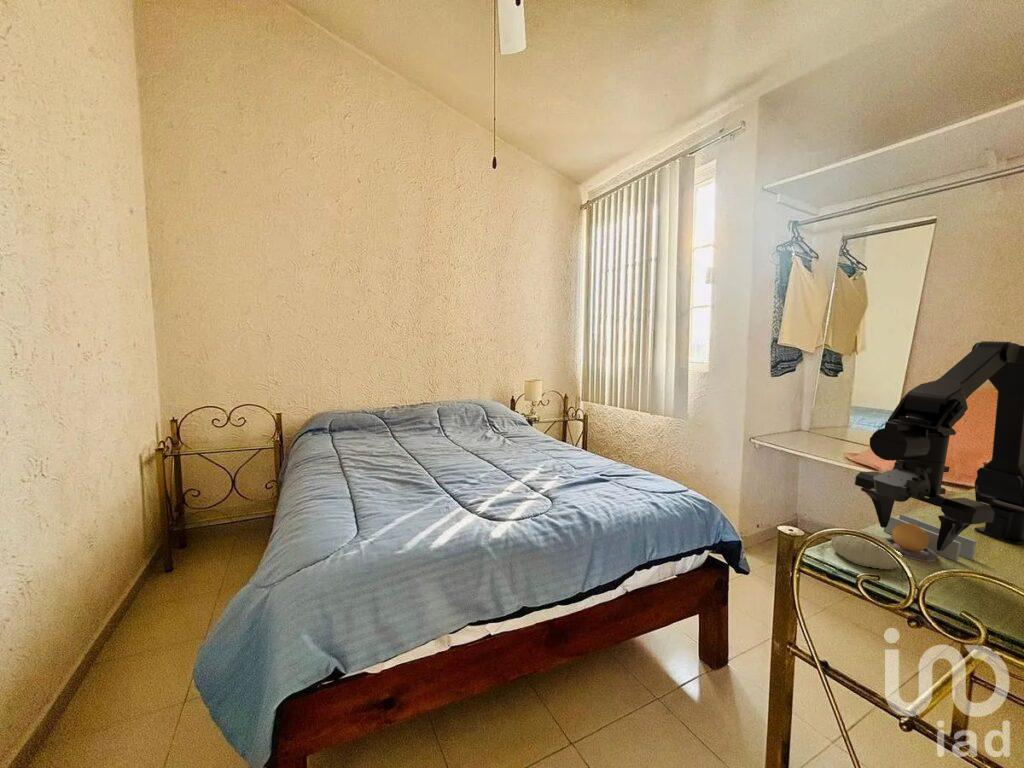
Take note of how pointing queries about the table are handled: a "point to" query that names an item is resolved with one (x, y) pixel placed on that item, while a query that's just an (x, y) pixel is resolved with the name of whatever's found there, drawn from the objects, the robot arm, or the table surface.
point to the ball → (910, 537)
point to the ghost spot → (921, 555)
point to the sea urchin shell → (863, 551)
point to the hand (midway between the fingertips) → (910, 538)
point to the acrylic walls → (952, 551)
